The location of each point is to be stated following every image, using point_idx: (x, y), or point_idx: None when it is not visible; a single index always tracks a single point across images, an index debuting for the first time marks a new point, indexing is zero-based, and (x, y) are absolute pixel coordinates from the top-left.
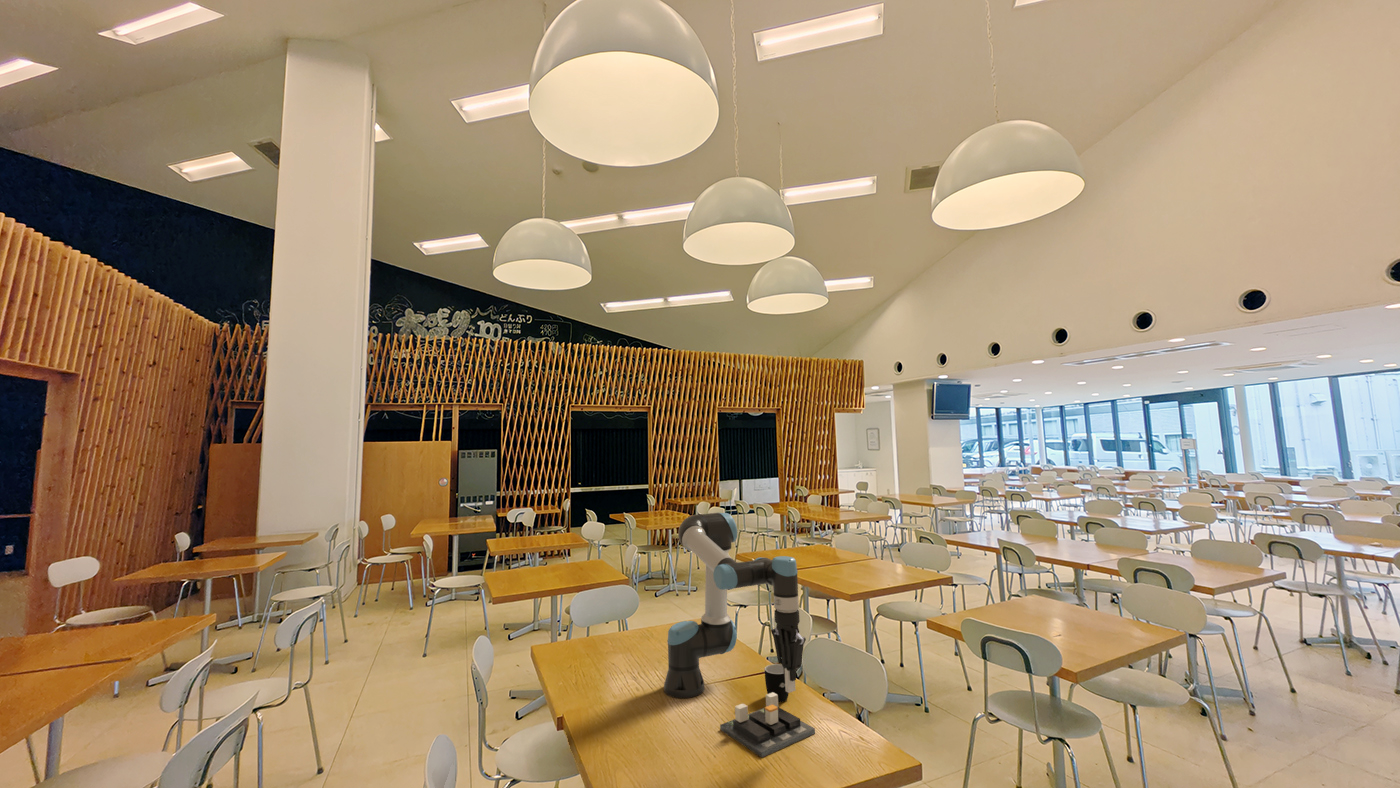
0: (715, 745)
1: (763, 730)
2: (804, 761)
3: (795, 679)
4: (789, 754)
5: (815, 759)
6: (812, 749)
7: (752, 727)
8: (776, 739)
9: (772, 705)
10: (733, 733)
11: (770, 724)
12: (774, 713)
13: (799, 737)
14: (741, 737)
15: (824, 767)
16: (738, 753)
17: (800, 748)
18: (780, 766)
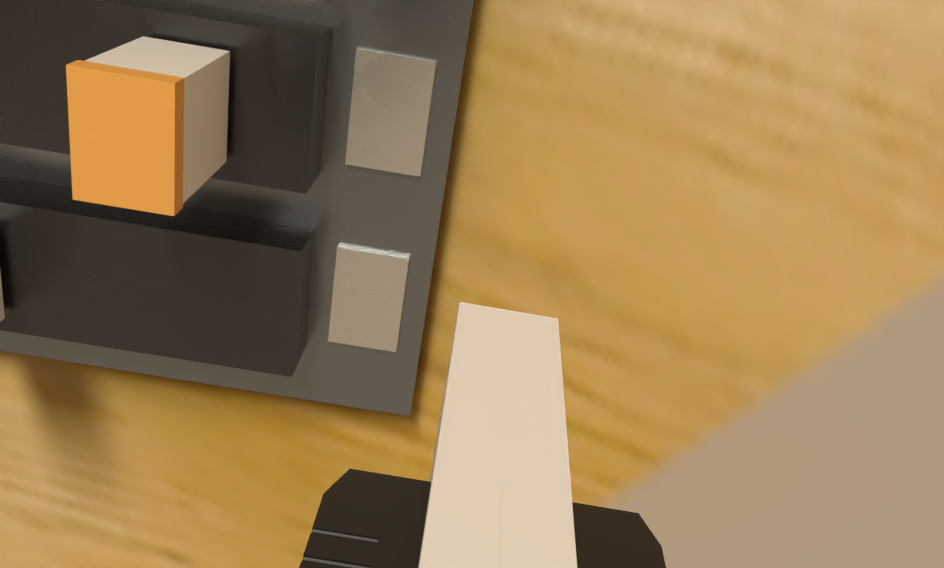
0: (68, 475)
1: (244, 268)
2: (697, 228)
3: (647, 545)
4: (544, 226)
5: (760, 144)
6: (660, 23)
7: (137, 294)
8: (364, 197)
9: (90, 92)
10: (49, 358)
11: (221, 163)
12: (194, 131)
13: None
14: (140, 360)
15: (877, 192)
16: (255, 450)
17: (563, 86)
18: (585, 390)
